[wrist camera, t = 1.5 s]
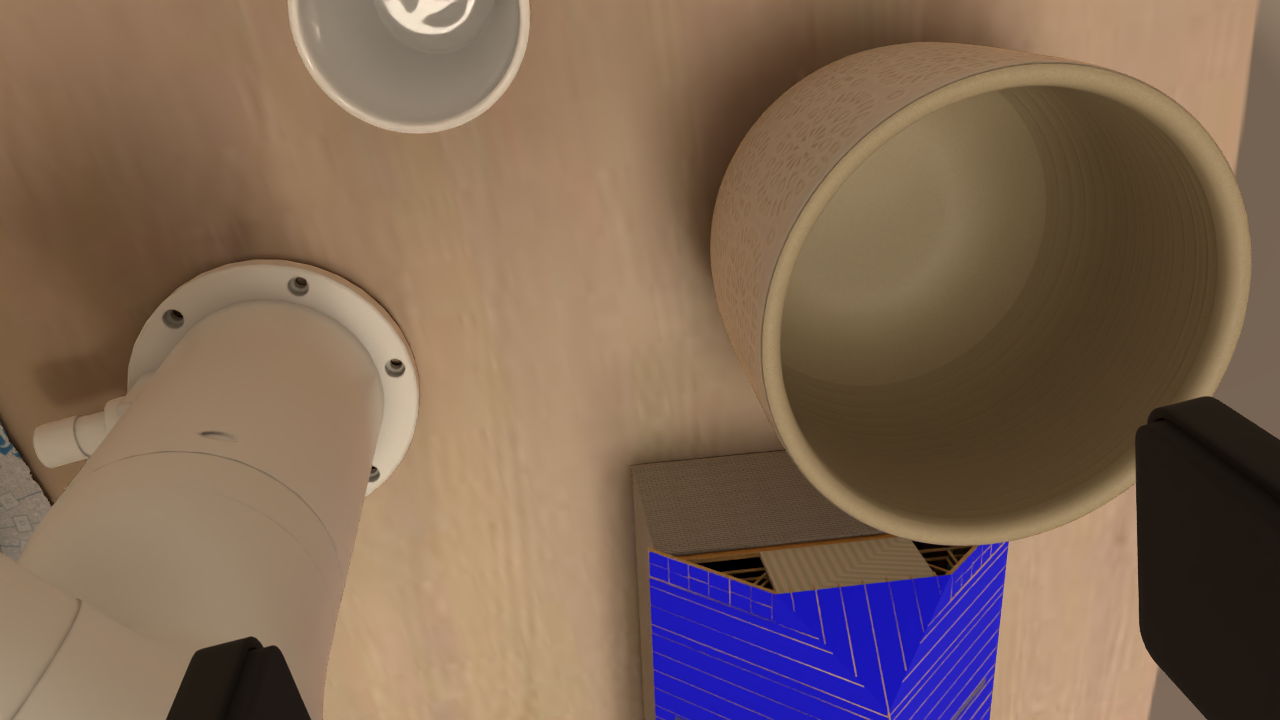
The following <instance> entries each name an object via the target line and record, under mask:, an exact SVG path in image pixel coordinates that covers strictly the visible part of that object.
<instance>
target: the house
mask: <svg viewBox="0 0 1280 720" xmlns="http://www.w3.org/2000/svg"><path fill="white" fill-rule="evenodd" d="M632 483H633V504H634V524H635V544H636V564H637V584H638V605H639V625H640V645H641V665H642V685H643V706H644V720H989V719H990V710H991V700H992V691H993V682H994V673H995V663H996V654H997V645H998V635H999V626H1000V617H1001V607H1002V598H1003V589H1004V580H1005V570H1006V561H1007V552H1008V542H1009V541H1008V542H1002V543H995V544H987V545H974V546H950V545H937V544H929V543H922V542H917V546H915V545H914V544H913V542H912V541H911V540H908V539H904V538H900V537H897V536H893V535H890V534H887V533H885V532H882V531H879V530H877V529H875V528H872V527H870V526H868V525H866V524H864V523H862V522H860V521H858V520H856V519H855V518H853V517H851V516H849V515H848V514H846V513H845V512H843V511H842V510H840V509H839V508H838V507H836V506H835V505H834V504H832V503H831V502H830V501H829V500H827V499H826V498H825V497H824V496H823V495H822V494H821V493H819V492H818V491H817V490H816V489H815V488H814V487H813V486H812V485H811V483H810V482H809V481H808V480H807V479H806V478H805V477H804V475H803V474H802V473H801V472H800V470H799V469H798V468H797V466H796V465H795V464H794V462H793V461H792V459H791V458H790V456H789V455H788V453H787V452H786V450H784V451H774V452H764V453H753V454H743V455H733V456H723V457H713V458H702V459H692V460H682V461H672V462H662V463H651V464H641V465H632ZM753 557H760V558H761V561H762V563H763V565H764V567H762V568H753V569H744V570H735V571H726V572H718V571H715V570H712V569H709V568H707V567H704V566H701V565H698V564H697V563H707V562H716V561H725V560H734V559H743V558H753ZM765 570H766V572H765V573H764V574H763V575H762V576H760V577H751V578H742V579H738V578H735V577H733V576H730V575H728V574H738V573H747V572H756V571H765ZM766 575H768V576H766ZM763 579H767V580H766V581H765V582H764V583H763V584H762V585H760V586H759V585H757V584H758V583H759V582H760V581H761V580H763ZM754 580H756V581H755V582H754V583H750V582H747V581H754ZM769 581H770V583H771V585H772V586H769V587H764V586H765V585H766V584H767V583H768V582H769Z"/></svg>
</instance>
